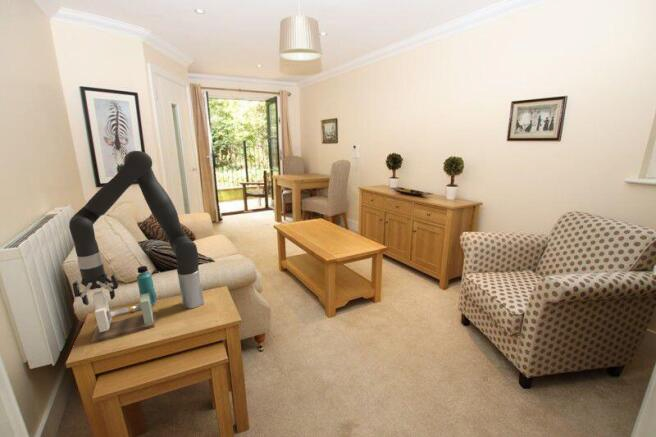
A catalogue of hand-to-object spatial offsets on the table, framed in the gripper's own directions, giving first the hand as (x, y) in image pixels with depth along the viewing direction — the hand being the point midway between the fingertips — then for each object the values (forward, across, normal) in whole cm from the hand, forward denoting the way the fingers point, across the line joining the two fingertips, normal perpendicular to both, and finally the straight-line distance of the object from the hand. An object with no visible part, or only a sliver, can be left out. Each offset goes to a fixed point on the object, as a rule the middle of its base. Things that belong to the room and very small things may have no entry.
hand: (100, 301), depth 127 cm
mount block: (+13, -15, 0) cm, 20 cm away
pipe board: (+15, -6, 0) cm, 16 cm away
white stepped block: (+11, 0, 0) cm, 11 cm away
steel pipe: (+8, -6, 0) cm, 10 cm away
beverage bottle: (+15, -15, -17) cm, 27 cm away
